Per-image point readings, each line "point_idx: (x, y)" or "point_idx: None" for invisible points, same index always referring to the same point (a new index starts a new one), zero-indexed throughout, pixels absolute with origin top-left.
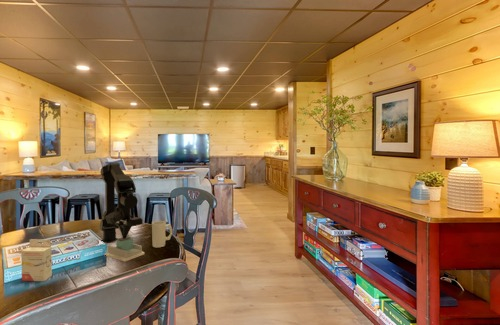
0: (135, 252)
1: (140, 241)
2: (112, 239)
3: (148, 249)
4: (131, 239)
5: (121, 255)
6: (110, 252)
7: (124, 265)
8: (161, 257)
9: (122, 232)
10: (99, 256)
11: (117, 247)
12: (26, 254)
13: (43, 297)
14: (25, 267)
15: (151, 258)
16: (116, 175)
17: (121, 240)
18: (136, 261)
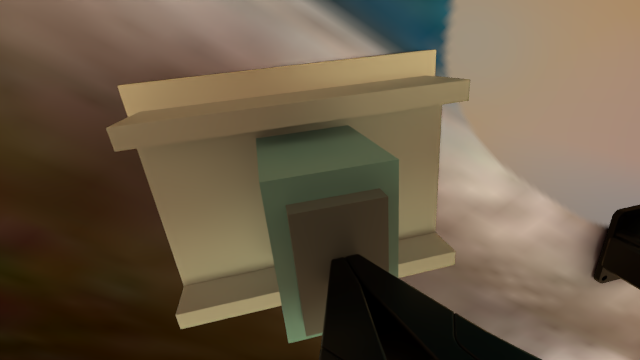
0: (168, 232)
1: None
2: (615, 247)
3: (273, 339)
4: (285, 316)
5: (208, 105)
6: (386, 81)
7: (6, 23)
8: (11, 345)
9: (387, 314)
10: (446, 7)
11: (340, 137)
12: None
13: None
14: None
15: (44, 284)
16: None
17: (310, 200)
18: (53, 166)
